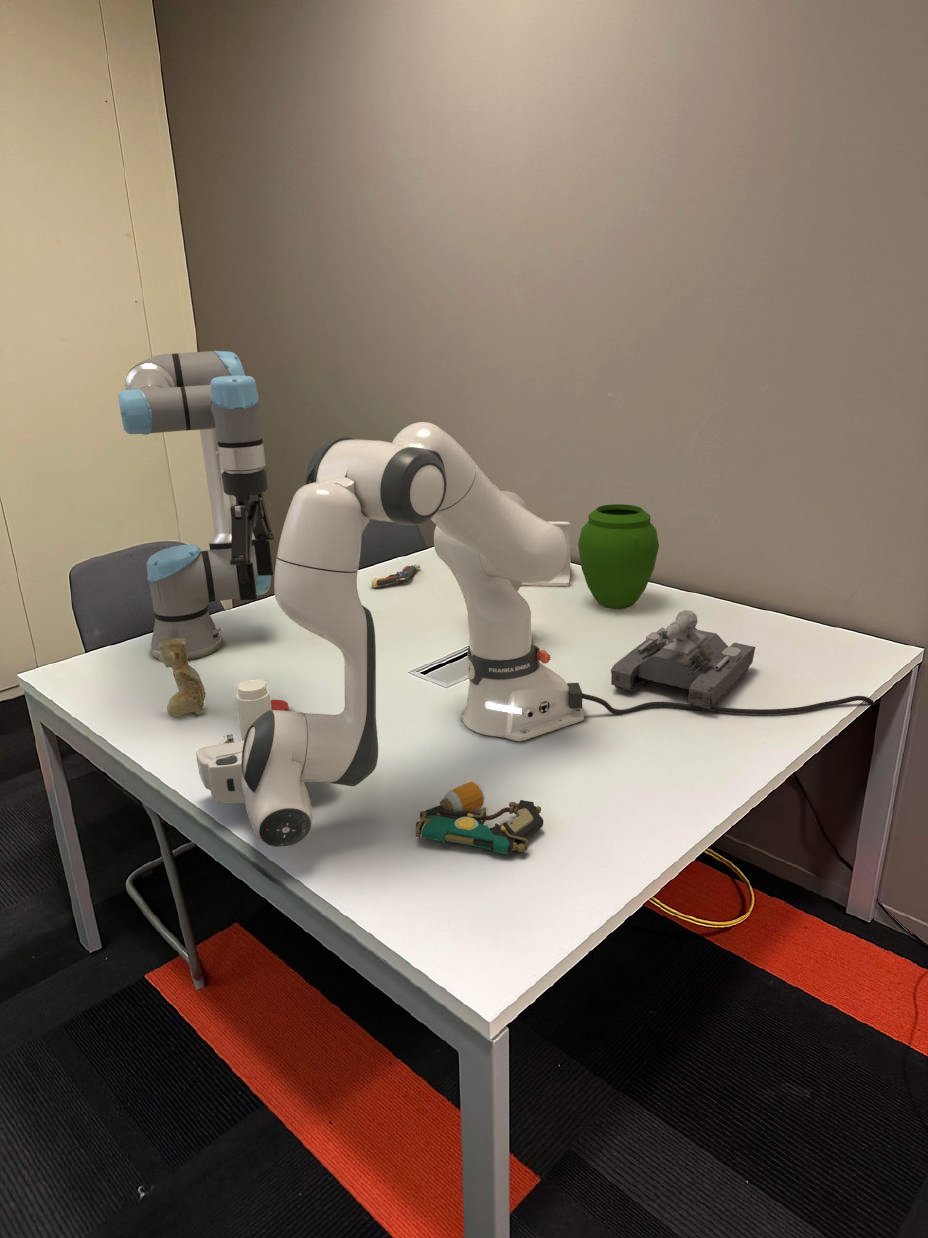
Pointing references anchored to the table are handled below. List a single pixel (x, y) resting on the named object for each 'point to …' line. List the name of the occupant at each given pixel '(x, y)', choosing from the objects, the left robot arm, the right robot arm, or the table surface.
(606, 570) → the vase
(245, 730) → the jar
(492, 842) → the spray gun
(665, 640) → the toy
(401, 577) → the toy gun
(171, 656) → the sculpture
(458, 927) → the table surface
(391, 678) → the table surface
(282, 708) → the lid
